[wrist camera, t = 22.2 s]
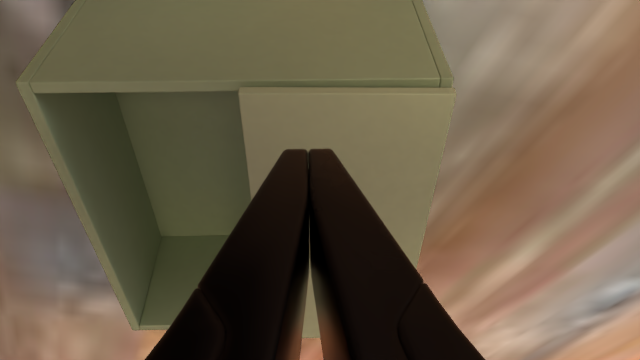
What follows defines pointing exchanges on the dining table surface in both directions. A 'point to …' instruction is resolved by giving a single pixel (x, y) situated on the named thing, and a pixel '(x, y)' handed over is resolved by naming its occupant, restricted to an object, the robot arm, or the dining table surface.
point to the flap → (356, 148)
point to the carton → (193, 116)
